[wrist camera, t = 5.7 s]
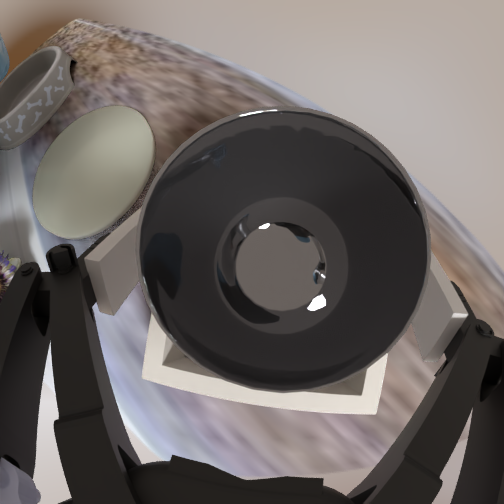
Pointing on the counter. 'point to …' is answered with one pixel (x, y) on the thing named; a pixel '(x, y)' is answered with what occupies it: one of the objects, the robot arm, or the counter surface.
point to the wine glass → (283, 249)
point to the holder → (203, 382)
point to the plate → (93, 172)
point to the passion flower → (7, 272)
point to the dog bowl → (33, 94)
